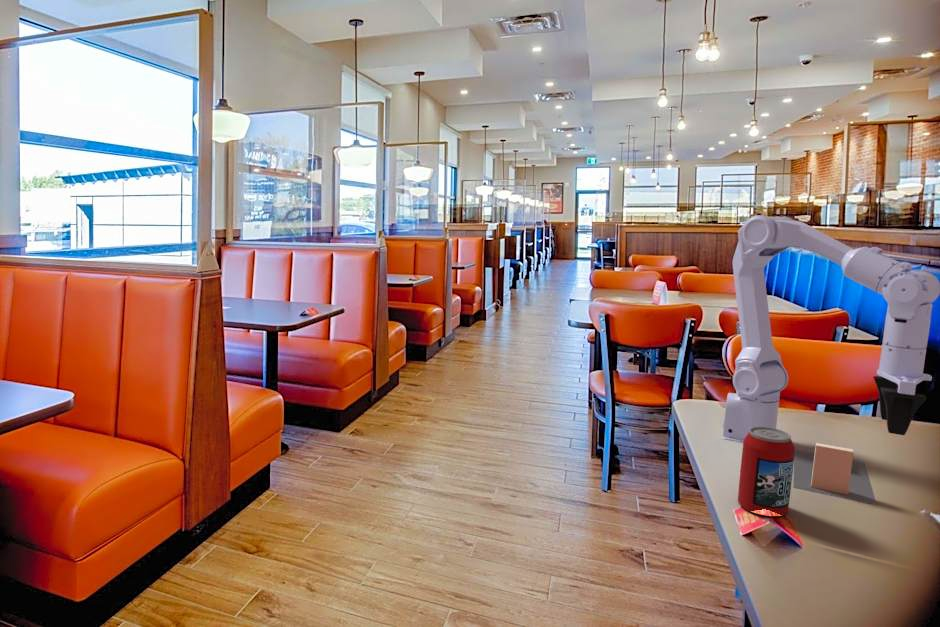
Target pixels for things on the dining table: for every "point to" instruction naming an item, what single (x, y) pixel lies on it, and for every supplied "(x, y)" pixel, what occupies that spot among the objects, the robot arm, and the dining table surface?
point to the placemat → (857, 491)
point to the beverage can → (766, 470)
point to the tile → (832, 468)
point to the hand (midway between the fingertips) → (892, 426)
